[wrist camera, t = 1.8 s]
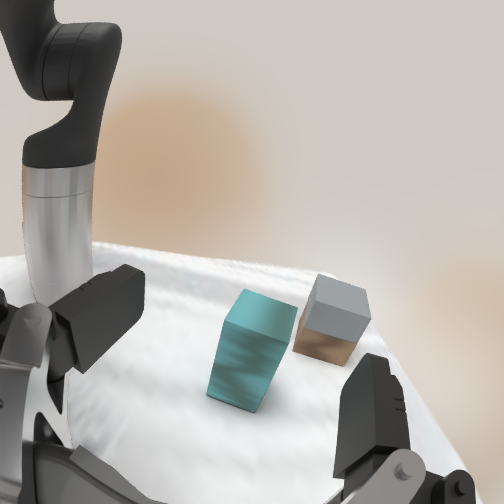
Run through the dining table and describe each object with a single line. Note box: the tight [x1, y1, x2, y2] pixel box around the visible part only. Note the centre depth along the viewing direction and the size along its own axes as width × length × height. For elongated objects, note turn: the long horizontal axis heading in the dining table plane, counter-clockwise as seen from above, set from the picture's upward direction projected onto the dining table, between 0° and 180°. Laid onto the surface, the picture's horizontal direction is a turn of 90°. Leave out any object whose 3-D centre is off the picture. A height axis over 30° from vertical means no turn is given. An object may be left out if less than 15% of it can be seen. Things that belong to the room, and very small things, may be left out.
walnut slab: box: [293, 302, 357, 367], centre depth 35 cm, size 7×7×4 cm
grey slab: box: [304, 274, 371, 344], centre depth 33 cm, size 7×7×4 cm
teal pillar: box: [206, 289, 298, 413], centre depth 24 cm, size 5×5×10 cm
